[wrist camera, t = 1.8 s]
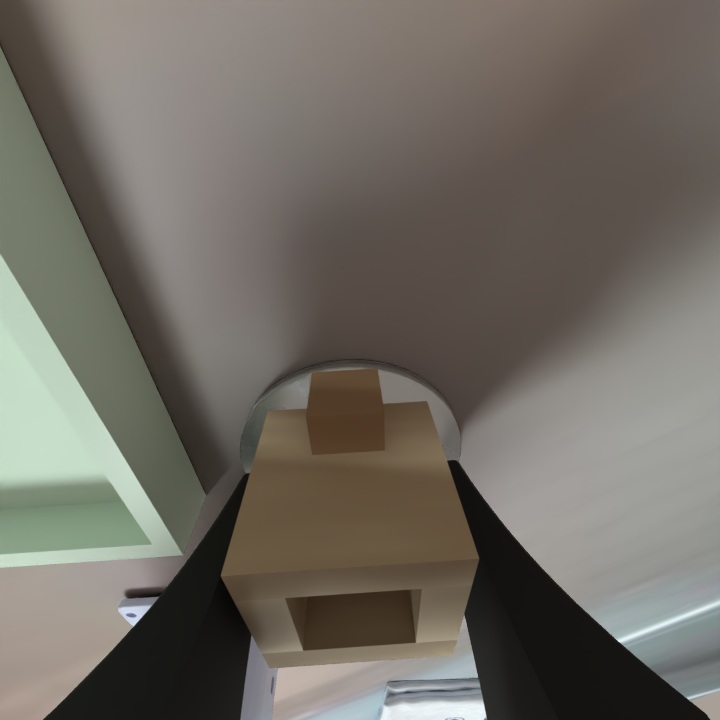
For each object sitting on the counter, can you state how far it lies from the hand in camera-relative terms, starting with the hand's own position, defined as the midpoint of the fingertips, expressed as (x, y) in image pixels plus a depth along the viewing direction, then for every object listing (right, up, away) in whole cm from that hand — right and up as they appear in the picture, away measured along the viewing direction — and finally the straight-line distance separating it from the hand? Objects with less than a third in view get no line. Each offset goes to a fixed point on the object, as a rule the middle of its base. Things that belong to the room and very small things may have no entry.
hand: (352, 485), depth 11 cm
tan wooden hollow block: (0, +1, +1) cm, 1 cm away
